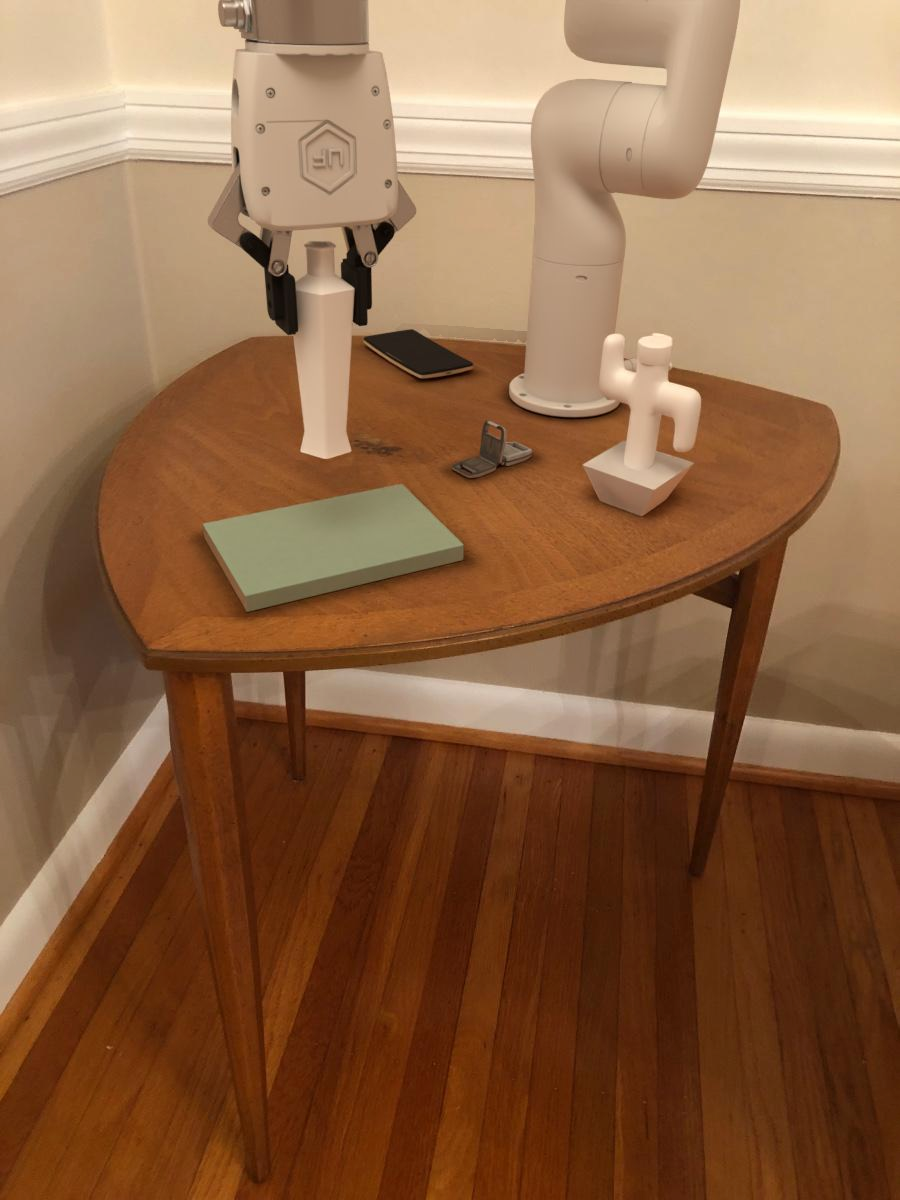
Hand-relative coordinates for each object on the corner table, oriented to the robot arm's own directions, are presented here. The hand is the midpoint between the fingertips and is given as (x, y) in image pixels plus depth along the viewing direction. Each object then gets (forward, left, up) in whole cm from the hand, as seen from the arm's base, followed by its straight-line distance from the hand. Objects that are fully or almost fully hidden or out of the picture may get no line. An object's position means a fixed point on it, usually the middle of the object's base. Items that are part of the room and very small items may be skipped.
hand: (321, 322), depth 67 cm
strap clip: (-20, -9, -19) cm, 29 cm away
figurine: (-28, +3, -19) cm, 34 cm away
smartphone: (-26, -39, -19) cm, 50 cm away
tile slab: (0, 0, -19) cm, 19 cm away
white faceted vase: (0, 0, -10) cm, 10 cm away
